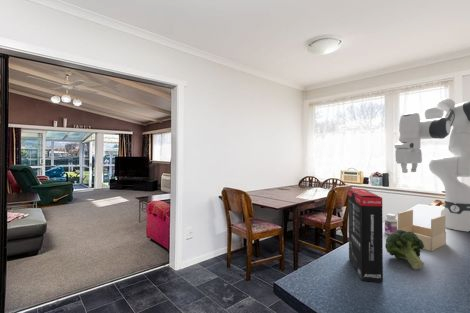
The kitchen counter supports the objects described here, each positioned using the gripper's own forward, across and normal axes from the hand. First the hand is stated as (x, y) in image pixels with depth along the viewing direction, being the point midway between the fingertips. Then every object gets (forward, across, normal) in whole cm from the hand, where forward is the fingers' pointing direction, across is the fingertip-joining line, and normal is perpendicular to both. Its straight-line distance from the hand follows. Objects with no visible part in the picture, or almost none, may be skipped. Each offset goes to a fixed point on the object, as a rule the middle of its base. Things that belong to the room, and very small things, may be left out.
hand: (409, 172), depth 123 cm
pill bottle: (+31, +8, -5) cm, 33 cm away
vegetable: (+31, +38, +15) cm, 51 cm away
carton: (+31, +10, +9) cm, 34 cm away
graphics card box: (+31, +58, +10) cm, 67 cm away
